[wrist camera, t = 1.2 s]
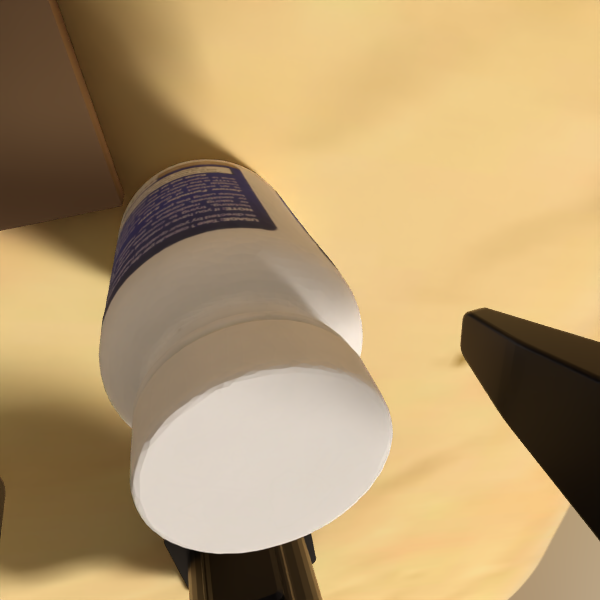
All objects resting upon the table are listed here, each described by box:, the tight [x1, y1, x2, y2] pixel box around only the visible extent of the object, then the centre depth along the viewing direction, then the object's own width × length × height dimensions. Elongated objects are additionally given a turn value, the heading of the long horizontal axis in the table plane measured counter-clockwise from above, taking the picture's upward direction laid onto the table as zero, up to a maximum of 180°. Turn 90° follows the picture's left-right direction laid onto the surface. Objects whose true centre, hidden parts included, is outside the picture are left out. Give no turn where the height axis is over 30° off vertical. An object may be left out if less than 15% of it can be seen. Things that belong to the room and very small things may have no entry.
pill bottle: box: [99, 159, 393, 554], centre depth 10 cm, size 5×5×9 cm
